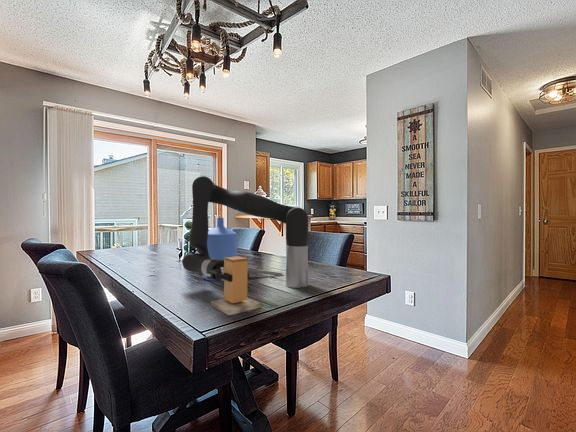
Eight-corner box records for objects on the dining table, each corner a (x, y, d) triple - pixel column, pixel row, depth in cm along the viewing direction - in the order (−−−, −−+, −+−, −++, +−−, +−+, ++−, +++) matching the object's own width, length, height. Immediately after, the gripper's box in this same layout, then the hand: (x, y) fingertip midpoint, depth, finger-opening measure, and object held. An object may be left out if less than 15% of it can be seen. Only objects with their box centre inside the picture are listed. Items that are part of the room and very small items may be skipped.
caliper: (242, 278, 145) (242, 265, 145) (241, 277, 146) (241, 264, 146) (283, 276, 150) (284, 263, 150) (283, 275, 152) (283, 262, 151)
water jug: (227, 282, 135) (228, 218, 134) (196, 279, 140) (196, 218, 139) (242, 275, 150) (242, 217, 149) (213, 272, 155) (213, 217, 154)
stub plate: (241, 298, 112) (241, 282, 111) (260, 307, 103) (260, 289, 102) (210, 305, 104) (210, 288, 104) (229, 315, 95) (229, 296, 95)
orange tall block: (238, 296, 107) (238, 256, 107) (247, 299, 103) (247, 258, 102) (223, 299, 103) (224, 257, 103) (232, 303, 99) (232, 260, 99)
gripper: (196, 260, 109) (220, 268, 96) (232, 256, 118) (258, 263, 105) (196, 281, 109) (220, 292, 96) (232, 276, 119) (257, 285, 106)
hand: (239, 277), depth 101 cm, fingers closed on orange tall block, 5 cm apart
